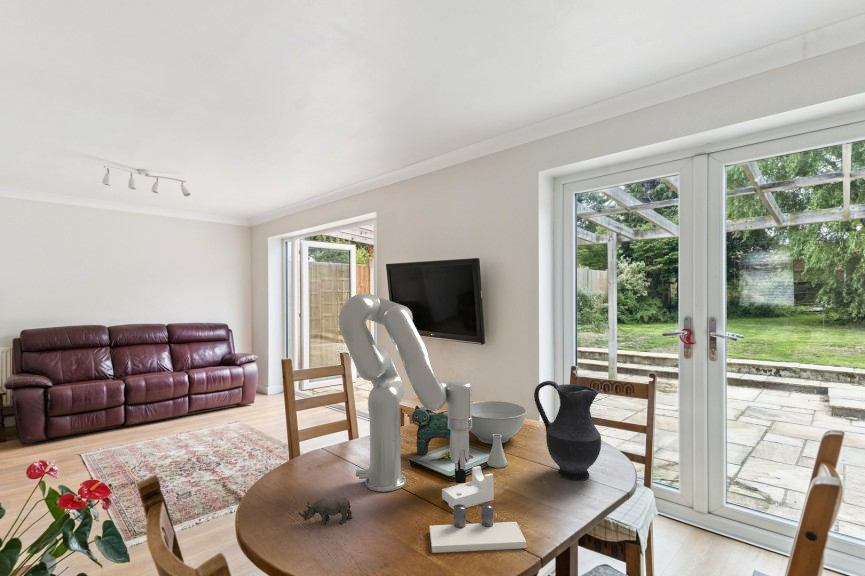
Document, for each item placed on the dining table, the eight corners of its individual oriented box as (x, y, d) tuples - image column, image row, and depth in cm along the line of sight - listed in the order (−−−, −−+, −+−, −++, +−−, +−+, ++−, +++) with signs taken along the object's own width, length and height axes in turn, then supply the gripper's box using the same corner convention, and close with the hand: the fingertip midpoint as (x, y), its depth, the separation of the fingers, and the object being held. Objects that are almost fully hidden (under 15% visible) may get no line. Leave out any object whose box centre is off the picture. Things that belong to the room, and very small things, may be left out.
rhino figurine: (299, 519, 118) (299, 496, 118) (352, 515, 120) (352, 493, 120) (296, 527, 114) (296, 504, 114) (351, 524, 115) (351, 500, 115)
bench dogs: (454, 534, 110) (454, 510, 110) (453, 528, 113) (452, 504, 113) (494, 533, 110) (494, 508, 110) (492, 526, 113) (492, 502, 113)
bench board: (432, 552, 102) (432, 546, 102) (429, 531, 111) (429, 525, 111) (526, 548, 104) (526, 541, 104) (516, 527, 113) (516, 521, 113)
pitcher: (602, 489, 134) (601, 389, 134) (532, 480, 141) (531, 385, 141) (600, 467, 150) (599, 378, 150) (537, 460, 157) (536, 375, 157)
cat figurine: (411, 455, 163) (411, 400, 163) (417, 449, 169) (417, 396, 169) (464, 461, 156) (463, 404, 157) (468, 455, 163) (468, 400, 163)
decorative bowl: (536, 435, 184) (536, 405, 184) (512, 455, 162) (511, 422, 162) (478, 425, 199) (478, 398, 199) (448, 442, 176) (447, 412, 176)
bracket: (479, 491, 134) (479, 465, 134) (493, 500, 128) (493, 474, 128) (442, 501, 128) (441, 474, 128) (455, 512, 122) (455, 484, 122)
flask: (507, 469, 150) (507, 439, 150) (486, 467, 151) (485, 438, 151) (508, 461, 157) (508, 432, 157) (487, 459, 158) (487, 431, 158)
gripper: (445, 416, 145) (445, 472, 144) (450, 430, 130) (451, 493, 130) (467, 415, 145) (468, 471, 145) (476, 429, 130) (476, 492, 130)
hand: (460, 482), depth 137 cm, fingers closed
